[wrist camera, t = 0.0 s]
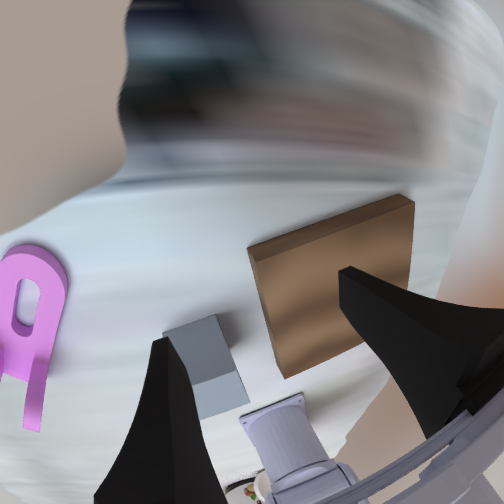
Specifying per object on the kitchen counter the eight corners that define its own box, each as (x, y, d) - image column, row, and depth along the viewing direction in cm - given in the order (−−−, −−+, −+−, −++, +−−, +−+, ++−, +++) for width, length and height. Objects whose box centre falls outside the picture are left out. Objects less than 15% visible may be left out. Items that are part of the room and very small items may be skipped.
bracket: (46, 375, 22) (38, 440, 17) (-7, 355, 20) (-24, 417, 14) (77, 261, 19) (59, 330, 13) (7, 231, 16) (-34, 291, 10)
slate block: (229, 349, 27) (250, 402, 22) (181, 366, 26) (195, 421, 21) (214, 313, 25) (236, 370, 20) (162, 332, 24) (172, 392, 19)
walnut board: (391, 310, 32) (402, 320, 31) (276, 364, 30) (284, 379, 28) (399, 193, 25) (415, 202, 23) (246, 248, 23) (255, 262, 21)
